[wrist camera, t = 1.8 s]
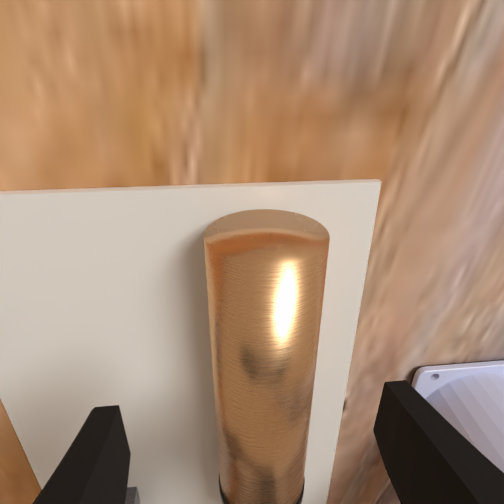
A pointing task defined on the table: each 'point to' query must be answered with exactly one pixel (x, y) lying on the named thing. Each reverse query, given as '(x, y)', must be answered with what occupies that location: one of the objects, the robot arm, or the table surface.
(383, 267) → the table surface
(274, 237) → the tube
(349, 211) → the hearth board
